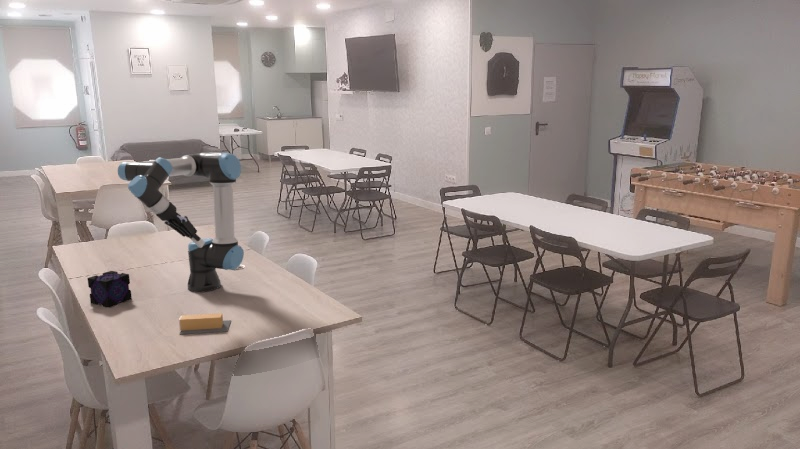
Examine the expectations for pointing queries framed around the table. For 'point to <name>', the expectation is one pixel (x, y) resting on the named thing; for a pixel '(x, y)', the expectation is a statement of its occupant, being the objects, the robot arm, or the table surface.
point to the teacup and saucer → (242, 267)
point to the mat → (223, 329)
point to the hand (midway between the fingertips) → (202, 245)
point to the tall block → (200, 321)
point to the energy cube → (109, 288)
